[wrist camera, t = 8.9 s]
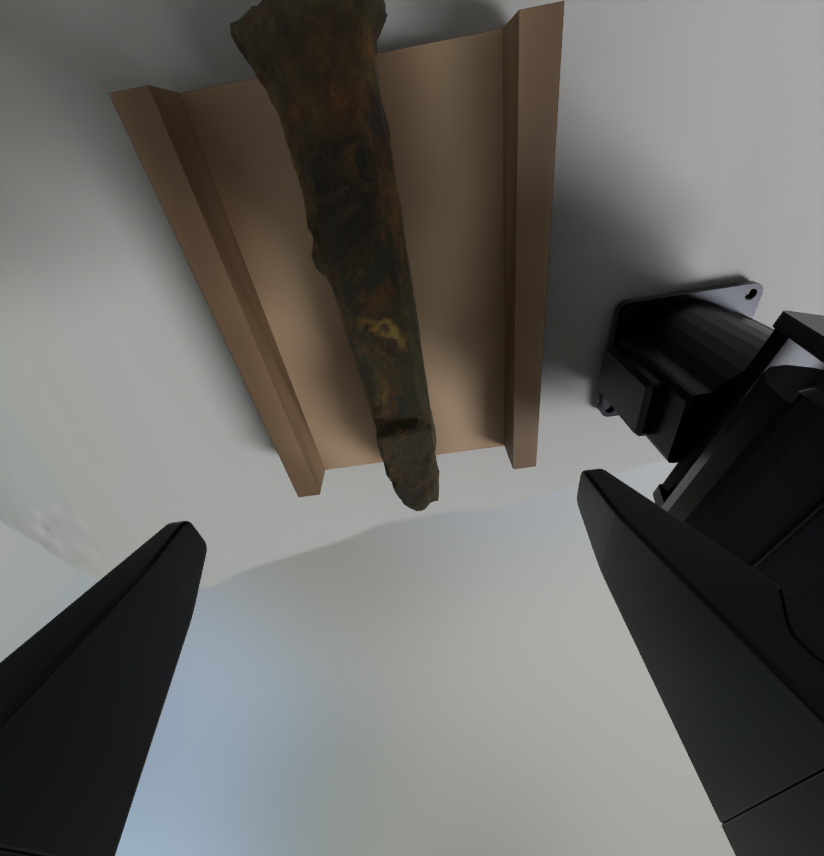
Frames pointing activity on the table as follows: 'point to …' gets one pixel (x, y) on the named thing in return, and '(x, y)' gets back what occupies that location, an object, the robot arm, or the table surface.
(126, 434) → the table surface
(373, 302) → the hand tool
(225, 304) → the tool cradle
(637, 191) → the table surface
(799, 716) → the robot arm
